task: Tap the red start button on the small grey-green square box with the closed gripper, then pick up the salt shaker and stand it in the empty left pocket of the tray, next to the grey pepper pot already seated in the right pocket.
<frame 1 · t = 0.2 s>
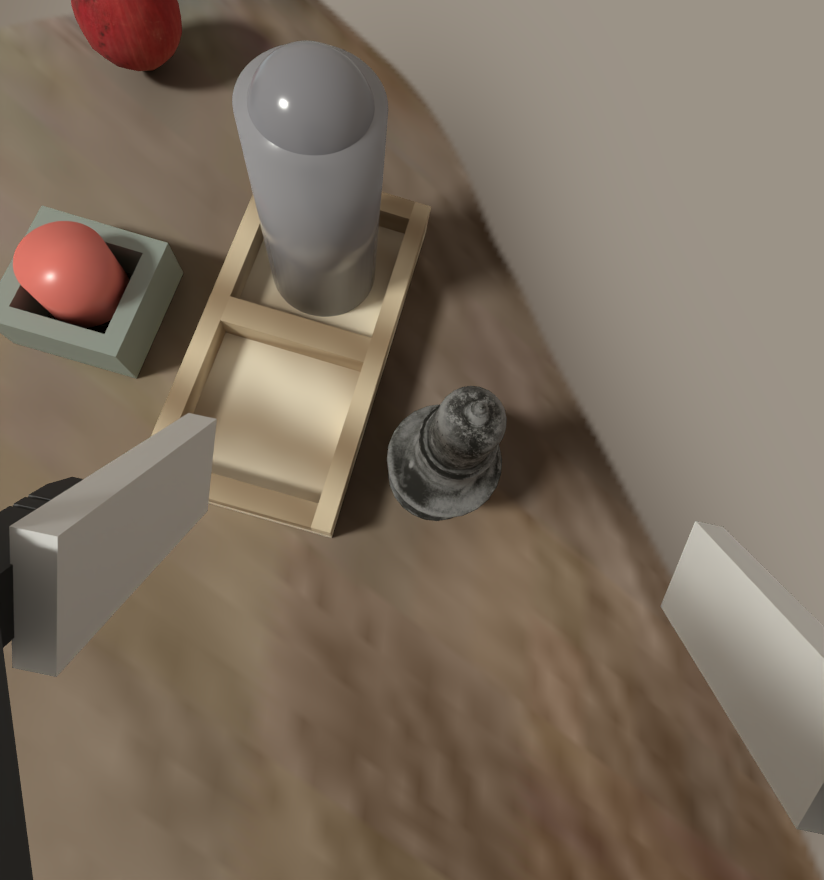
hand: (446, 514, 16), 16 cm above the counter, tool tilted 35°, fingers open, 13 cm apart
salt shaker: (434, 474, 33), on the counter
onion: (149, 69, 38), on the counter
grey-green square box: (101, 306, 33), on the counter
pepper pot: (324, 270, 34), point 1 cm above the counter, touching tray
tray: (300, 348, 34), on the counter
start button: (74, 275, 30), point 3 cm above the counter, slide at 0.0 cm
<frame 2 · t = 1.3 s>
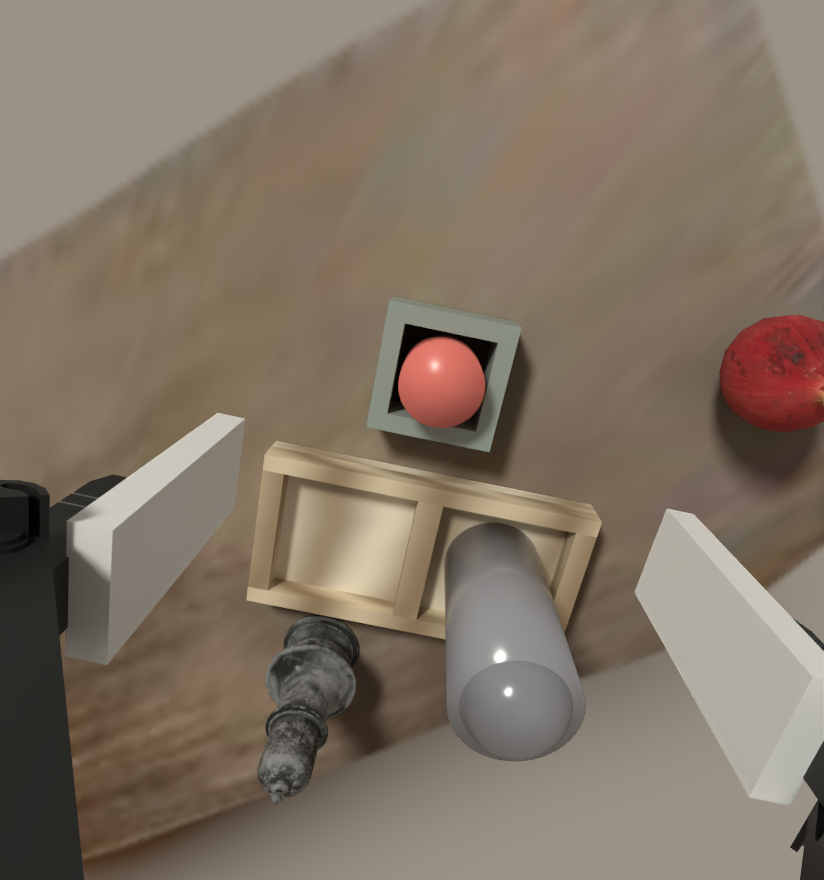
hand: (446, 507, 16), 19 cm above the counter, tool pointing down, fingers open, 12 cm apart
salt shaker: (322, 645, 40), on the counter
onion: (745, 360, 33), on the counter
grey-green square box: (441, 368, 34), on the counter
pepper pot: (491, 565, 36), point 1 cm above the counter, touching tray
tray: (418, 543, 37), on the counter
start button: (441, 380, 31), point 3 cm above the counter, slide at 0.0 cm
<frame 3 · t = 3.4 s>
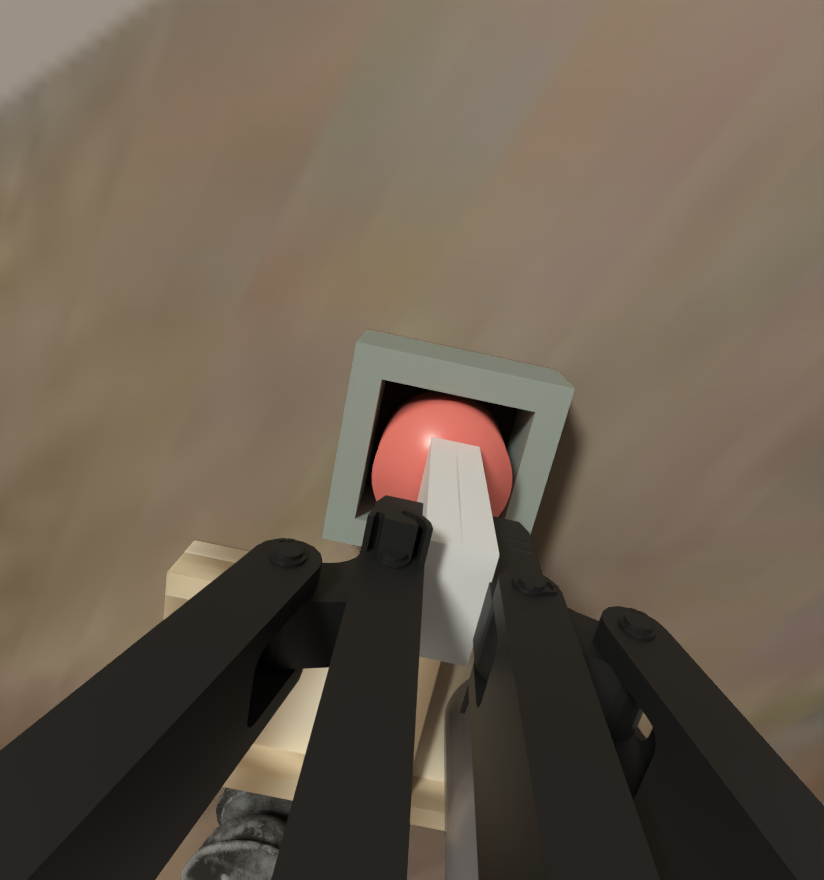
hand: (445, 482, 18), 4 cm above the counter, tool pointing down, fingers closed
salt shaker: (270, 812, 29), on the counter
grey-green square box: (441, 439, 22), on the counter
pepper pot: (513, 722, 25), point 1 cm above the counter, touching tray
tray: (406, 684, 26), on the counter
start button: (441, 463, 19), point 3 cm above the counter, slide at 0.7 cm
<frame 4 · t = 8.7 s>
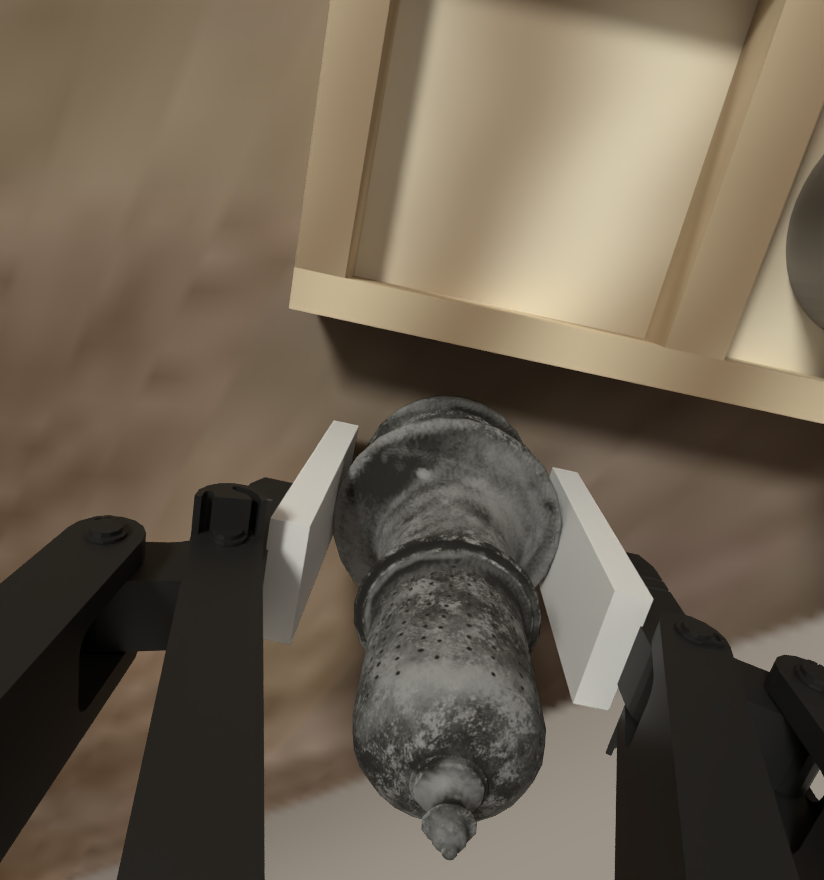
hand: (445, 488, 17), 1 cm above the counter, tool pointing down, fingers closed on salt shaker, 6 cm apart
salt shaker: (445, 474, 18), on the counter, touching gripper
tray: (709, 190, 15), on the counter
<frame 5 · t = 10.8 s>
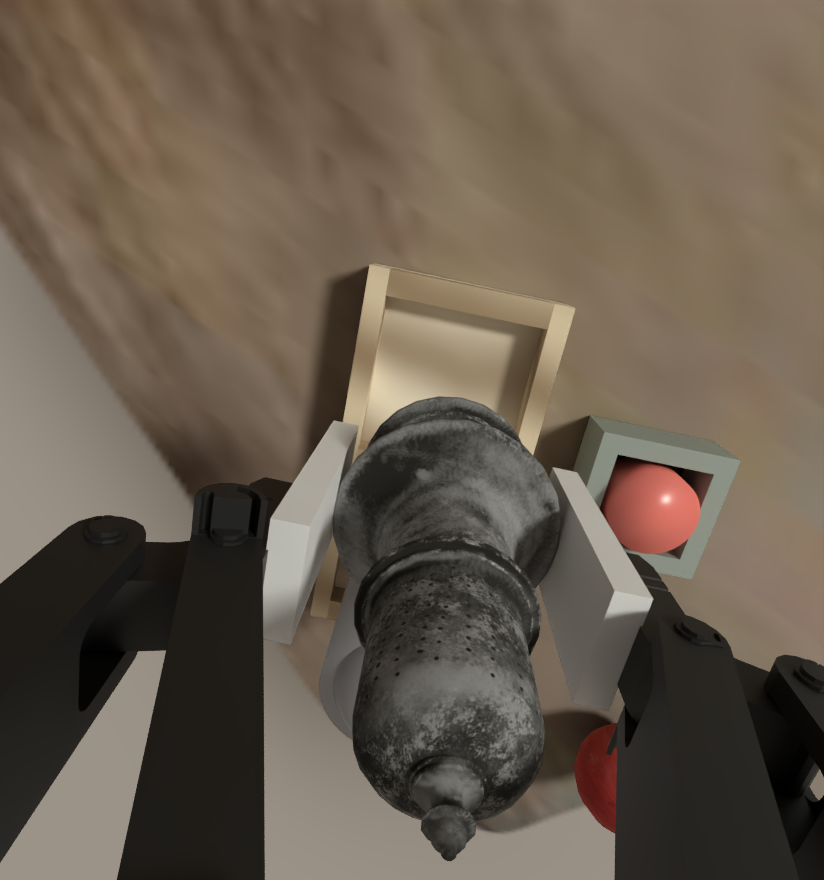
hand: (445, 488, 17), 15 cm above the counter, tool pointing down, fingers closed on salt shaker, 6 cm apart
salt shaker: (445, 475, 18), point 14 cm above the counter, touching gripper
onion: (607, 726, 38), on the counter
grey-green square box: (631, 486, 33), on the counter
pepper pot: (412, 541, 33), point 1 cm above the counter, touching tray
tray: (430, 461, 33), on the counter
start button: (645, 503, 30), point 2 cm above the counter, slide at 1.0 cm
when the fingers open (3 cm above the counter, at t = 13.2 s): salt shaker drops 1 cm, resting on tray.
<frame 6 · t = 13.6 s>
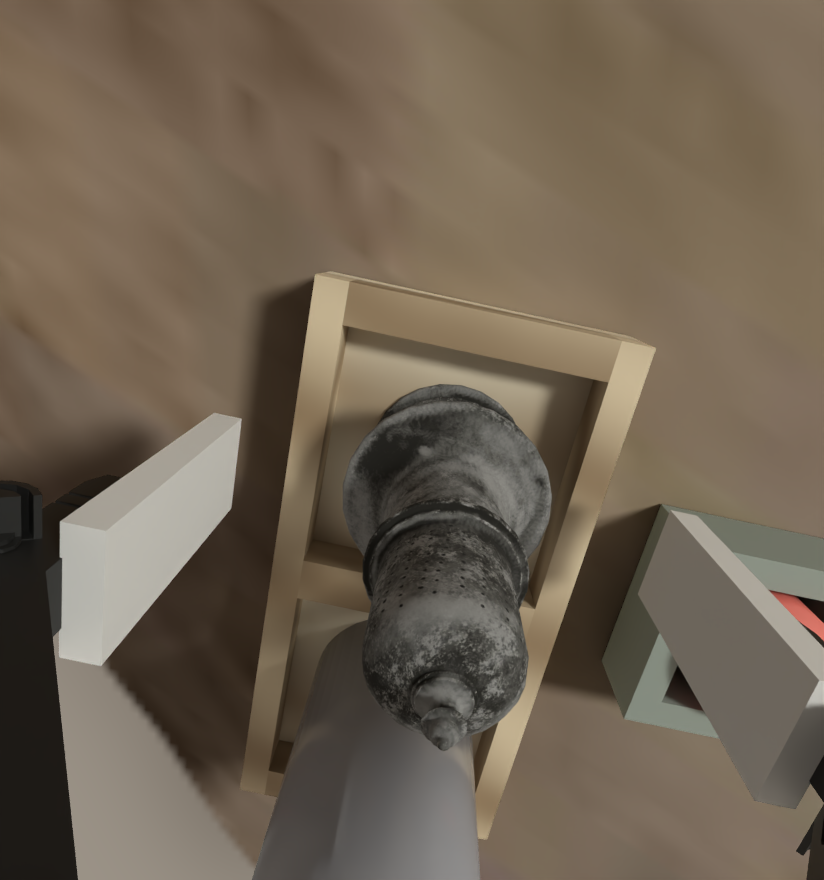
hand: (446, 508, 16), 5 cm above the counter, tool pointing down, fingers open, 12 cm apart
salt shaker: (446, 458, 20), point 1 cm above the counter, touching tray
grey-green square box: (719, 605, 22), on the counter
pepper pot: (392, 682, 23), point 1 cm above the counter, touching tray
tray: (418, 565, 22), on the counter
start button: (750, 644, 20), point 2 cm above the counter, slide at 1.0 cm
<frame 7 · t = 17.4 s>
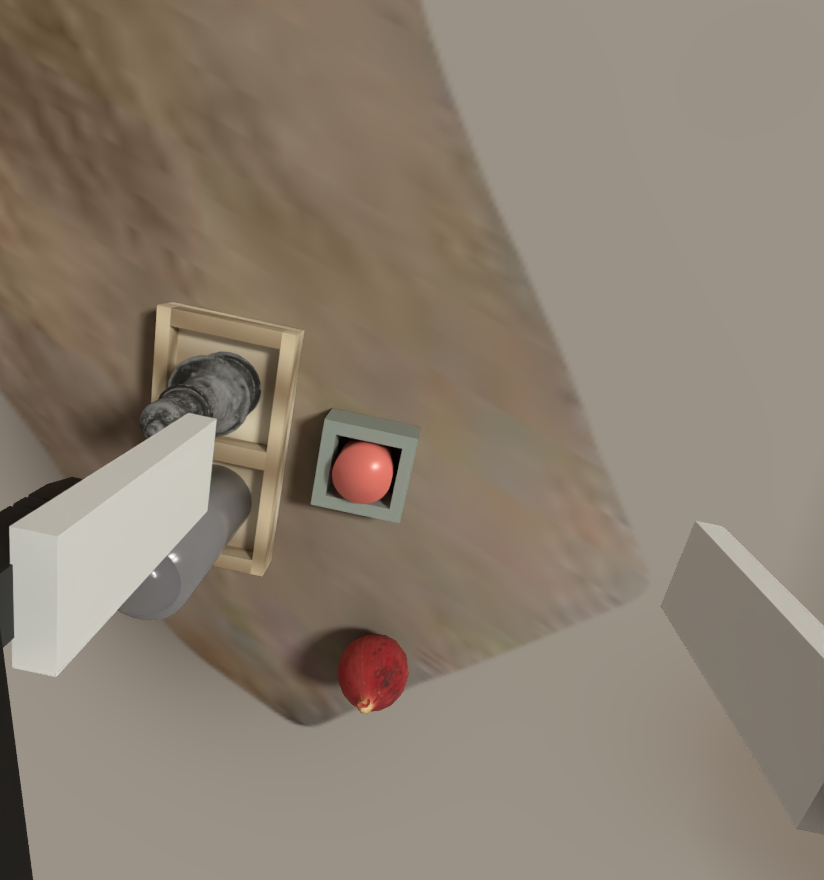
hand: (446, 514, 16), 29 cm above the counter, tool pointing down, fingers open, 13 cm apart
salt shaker: (227, 385, 44), point 1 cm above the counter, touching tray
onion: (378, 640, 52), on the counter
grey-green square box: (368, 458, 46), on the counter
pepper pot: (215, 498, 47), point 1 cm above the counter, touching tray
tray: (225, 440, 46), on the counter
start button: (364, 469, 44), point 2 cm above the counter, slide at 1.0 cm
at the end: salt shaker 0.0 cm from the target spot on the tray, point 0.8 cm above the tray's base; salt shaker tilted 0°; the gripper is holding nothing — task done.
